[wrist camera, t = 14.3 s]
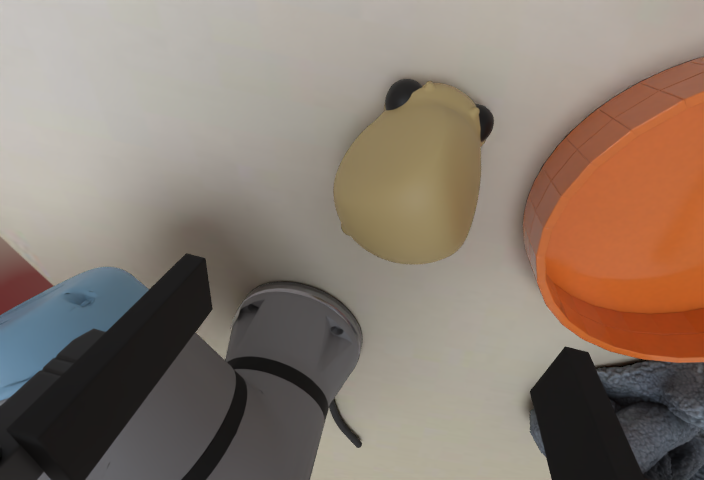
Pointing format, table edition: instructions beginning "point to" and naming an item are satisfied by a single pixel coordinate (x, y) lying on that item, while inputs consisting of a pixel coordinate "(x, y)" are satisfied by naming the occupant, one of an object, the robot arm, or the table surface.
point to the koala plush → (657, 416)
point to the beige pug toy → (414, 174)
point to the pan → (628, 221)
